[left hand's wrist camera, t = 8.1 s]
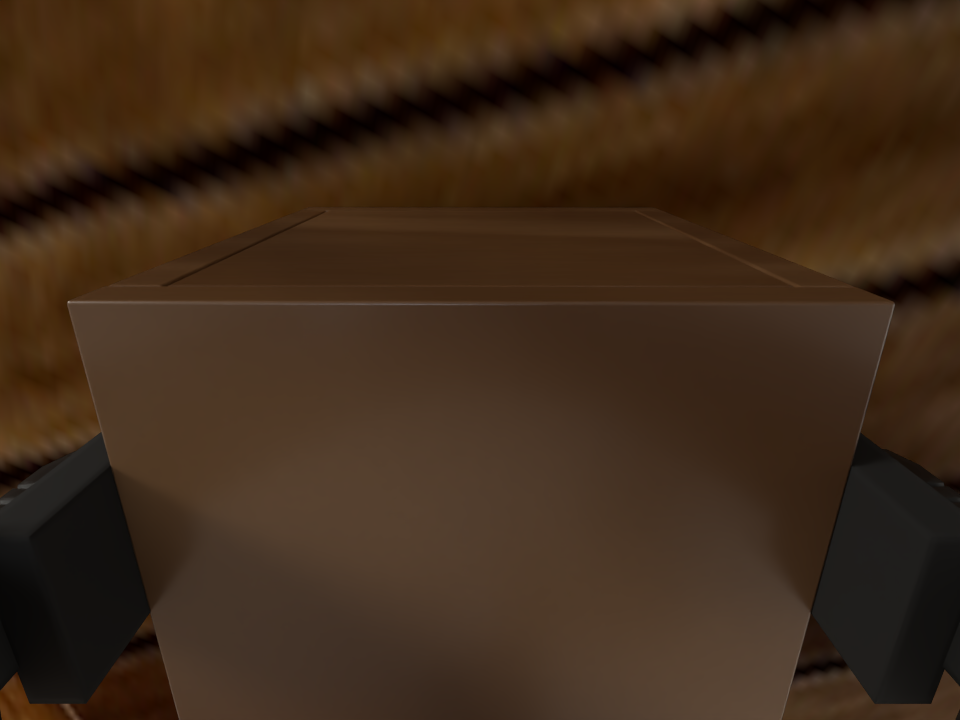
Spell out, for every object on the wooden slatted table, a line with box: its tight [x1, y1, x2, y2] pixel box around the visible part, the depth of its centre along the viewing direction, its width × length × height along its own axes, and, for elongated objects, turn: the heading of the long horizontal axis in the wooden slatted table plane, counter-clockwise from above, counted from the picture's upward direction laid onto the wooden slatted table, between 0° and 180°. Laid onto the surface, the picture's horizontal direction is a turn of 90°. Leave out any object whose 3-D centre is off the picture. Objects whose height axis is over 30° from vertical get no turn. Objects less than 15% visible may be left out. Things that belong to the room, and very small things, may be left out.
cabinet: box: [67, 207, 895, 720], centre depth 16 cm, size 20×10×11 cm, turn 0°
